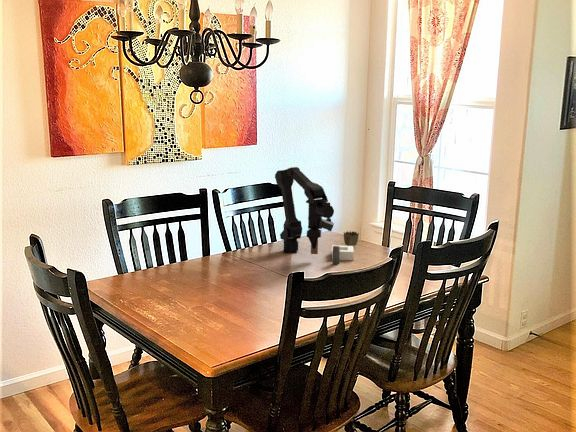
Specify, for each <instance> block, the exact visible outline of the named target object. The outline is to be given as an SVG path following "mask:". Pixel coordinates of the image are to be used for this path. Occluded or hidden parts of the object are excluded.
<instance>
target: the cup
mask: <svg viewBox="0 0 576 432" xmlns="http://www.w3.org/2000/svg"><path fill="white" fill-rule="evenodd" d="M359 235H360V233H359V232H357V231H344V232H343V241H344V244H345V246H353V247H354V249H355V246H357V244H358V242H359Z"/></svg>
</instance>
